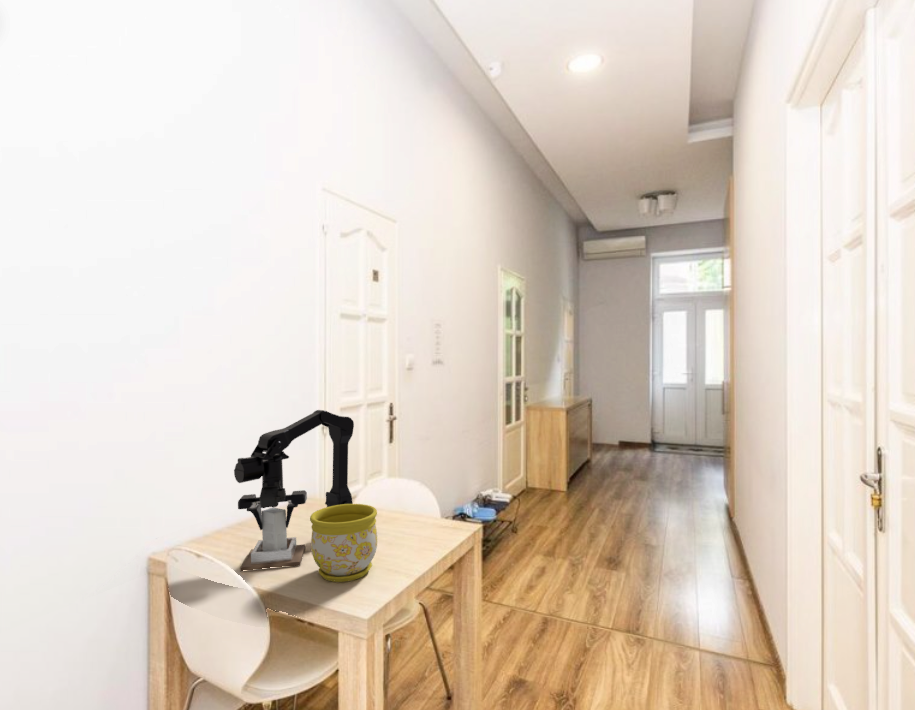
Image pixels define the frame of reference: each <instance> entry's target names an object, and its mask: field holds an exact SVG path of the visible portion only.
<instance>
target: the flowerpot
mask: <svg viewBox="0 0 915 710" xmlns="http://www.w3.org/2000/svg"><path fill="white" fill-rule="evenodd" d="M377 515H378V511H377V508H376V507H374V506H372V505H370V504H369V505H368V504H364V503H353V504H342V505H335V506H330V507H327V506H326V507H323V508H320V509H318V510H316V511H314V512H312V513H311V515H310V516H309V517H310V518H309V521H310V523H311V524H312V525H311V539H310V542H311V543H310V546H311V549H310V550H311V555H312V558H313V560H314V562H315V565H316V566H317V567H318V575H320V576H322V578H323V579H324V580H326V581H329V582H334V583H344V582H346V583H347V582H352V581H355V580H359V579H360V578H363V577H364V576H366V575H367V574H368V573H369V571H370V570H371V569H372V566H373V564H372V560H373V559H374V557H375V556H376V553H377V549H378V531H377V530H378V529H377V519H376V517H377Z"/></svg>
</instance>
